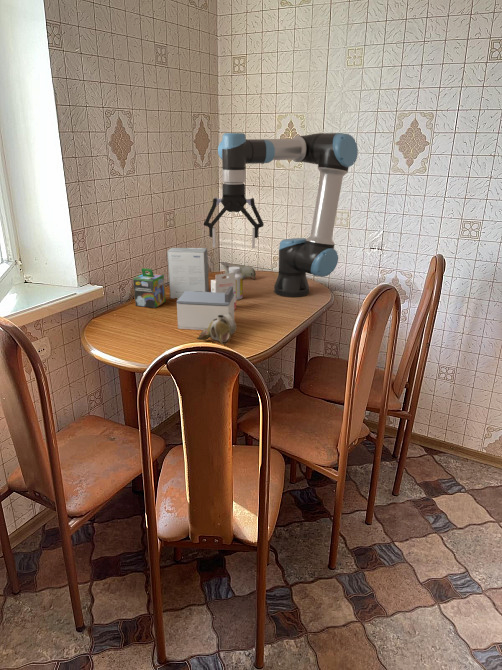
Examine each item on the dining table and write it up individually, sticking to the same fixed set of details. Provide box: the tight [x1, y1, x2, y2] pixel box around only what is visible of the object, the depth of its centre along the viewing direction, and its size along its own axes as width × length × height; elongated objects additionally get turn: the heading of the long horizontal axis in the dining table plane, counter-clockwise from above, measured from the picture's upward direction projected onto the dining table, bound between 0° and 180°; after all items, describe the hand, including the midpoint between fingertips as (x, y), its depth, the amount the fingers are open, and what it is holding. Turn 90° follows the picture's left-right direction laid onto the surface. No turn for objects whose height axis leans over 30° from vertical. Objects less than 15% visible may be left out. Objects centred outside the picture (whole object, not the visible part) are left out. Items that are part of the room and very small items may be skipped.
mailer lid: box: [176, 286, 234, 306], centre depth 178 cm, size 18×12×4 cm, turn 83°
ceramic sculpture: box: [196, 312, 237, 345], centre depth 167 cm, size 11×9×15 cm
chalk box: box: [132, 267, 167, 309], centre depth 200 cm, size 9×9×15 cm
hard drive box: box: [166, 247, 210, 300], centre depth 209 cm, size 16×8×20 cm, turn 84°
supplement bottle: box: [226, 267, 244, 301], centre depth 209 cm, size 7×7×13 cm
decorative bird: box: [220, 261, 257, 281], centre depth 238 cm, size 6×17×8 cm, turn 78°
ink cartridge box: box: [210, 273, 237, 310], centre depth 195 cm, size 9×5×15 cm, turn 117°
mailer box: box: [176, 296, 235, 331], centre depth 180 cm, size 18×12×9 cm, turn 83°
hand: (233, 247), depth 175 cm, fingers open, 13 cm apart
